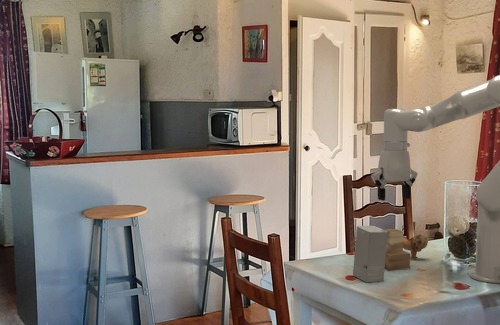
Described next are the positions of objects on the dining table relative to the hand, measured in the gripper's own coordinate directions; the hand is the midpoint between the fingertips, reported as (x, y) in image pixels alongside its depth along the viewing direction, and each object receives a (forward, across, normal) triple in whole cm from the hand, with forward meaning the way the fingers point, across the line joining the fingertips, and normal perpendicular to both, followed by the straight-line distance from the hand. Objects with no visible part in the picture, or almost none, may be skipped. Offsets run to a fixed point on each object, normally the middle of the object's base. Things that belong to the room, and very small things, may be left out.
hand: (394, 199), depth 197 cm
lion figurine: (+23, -12, -8) cm, 27 cm away
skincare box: (+23, +15, +9) cm, 29 cm away
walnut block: (+22, 0, 0) cm, 22 cm away
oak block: (+17, 0, 0) cm, 17 cm away
